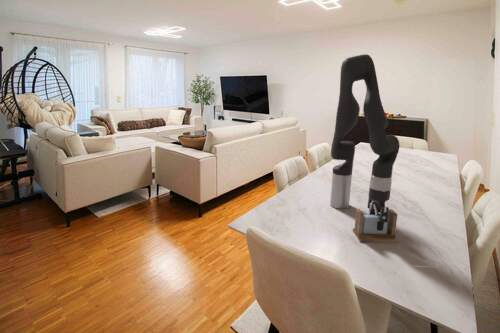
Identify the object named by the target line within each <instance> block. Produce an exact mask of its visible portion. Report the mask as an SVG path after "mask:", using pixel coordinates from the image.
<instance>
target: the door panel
mask: <svg viewBox="0 0 500 333" xmlns="http://www.w3.org/2000/svg"><path fill="white" fill-rule="evenodd" d="M377 221H378V219H377V216H376V214H375V215H369V214H364V216H363V225H362V234H386V232H387V225H388V222H387V223H386V222H384V226H383V230H382V231H378V230H377Z"/></svg>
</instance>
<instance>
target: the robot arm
mask: <svg viewBox="0 0 500 333" xmlns="http://www.w3.org/2000/svg"><path fill="white" fill-rule="evenodd" d="M377 77H378V76H377V71H376V66H375V64H374V59H372V57H371V55H369V54H365V53H363V54H359V55H355V56H354V55H353V56H350V57H347V58H345V59H344V60H343V61H342V63H341V67H340V79H339V96H338V103H337V110H336V115H335V116H336V117H335V126H334V133H333V137H332V142H331V149H330V156H331V159H333V160H337V161H344V162H343V163H340V164H338V165H337V164H336V165H334V166H333V168H332V175H331V176H332V178H331V188H330V189H331V191H330V204H329V205H330V206H331V207H333V208H335V209H339V210H343V209H345V210H346V209H348V208H349V207H350V201H351V200H350V199H351V187H352V178H353V168H354V159H355V152H356V144H355V142H354V141H351V140H349V141H348V140H343V138H344V137H345V136H346V135H347V134H348V133H349V132H350V131H352V129H354V127H355V126H356V125H357V123H358V120H359V116H360V111H361V110H360V109H361V108H360V104H359V103H358V100H357V98H356V97H355V96H354V93H353V85H354V83H355V82H359V81H362V80H363V81H364V85H365V88H366V92H365V99H364V102H363V109H362V110H363V111H362V112H363V116H364V119H365V121H366V125H367V127H368V136H369V137H368V138H369V146H370V148H371V151H372V152H373V153H374V154H376V155H378V158H377V159H375V160H374V161H373V163H372V168H371V175H370V176H371V177H370V180H369V187H368V190H369V191H368V200H367V209H368V212H369V214H368V215H376V216H377V219H378V221H377V230H378V231H382V230H383V226H384V222H386V223H387V222H388V213H389V209H390V208H389V207H388V206H386V202H388V201H389V200H390V197H391V189H392V183H393V182H392V176H393V168H394V164H395V162H396V159H397V156H398V154H399V152H400V141H399V139H398V137H397V136H396V135H395V134H386V130H385V129H387V127H388V125H389V120H388V118H387V115H386V112H385V109H384V107H383V102H382V100H381V94H380V89H379V82H378V78H377Z"/></svg>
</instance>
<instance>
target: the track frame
mask: <svg viewBox="0 0 500 333" xmlns="http://www.w3.org/2000/svg"><path fill="white" fill-rule="evenodd" d="M355 211H356V212H355V223H354V227H353V228H351V229H352V230H351V231H352V232H353V233H354V235H355V236H356V238H357V240H358V242H359V243H381V244H382V243H385V244H386V243H388V244H390V243H391V244H397V243H398V240H397V239H396V228H397V220H398V215H399V214H398V213H397V212H395V211H394V209H392V208H389V212H388V225H387V232H386V234H362V225H363V216H364V215H365V214H364V212H363V211H362V209H361V208H356V209H355Z"/></svg>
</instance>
